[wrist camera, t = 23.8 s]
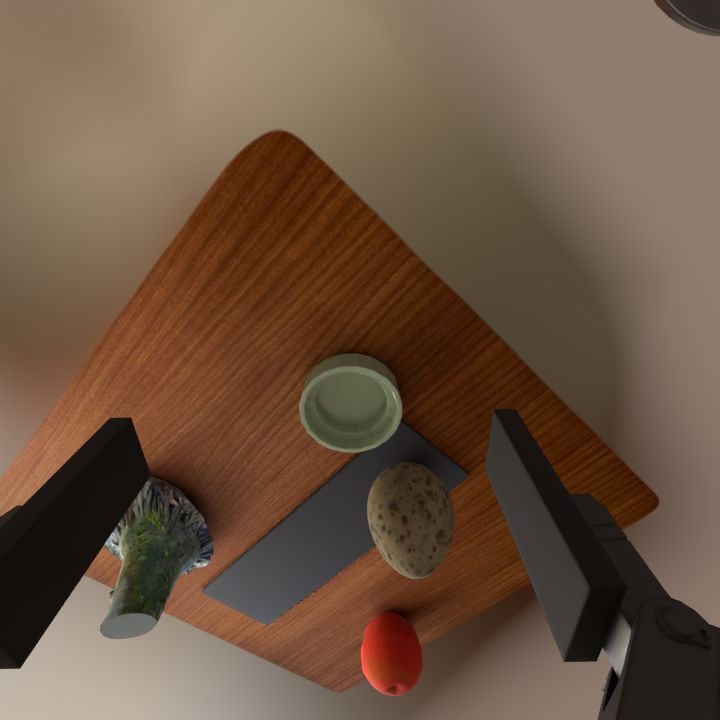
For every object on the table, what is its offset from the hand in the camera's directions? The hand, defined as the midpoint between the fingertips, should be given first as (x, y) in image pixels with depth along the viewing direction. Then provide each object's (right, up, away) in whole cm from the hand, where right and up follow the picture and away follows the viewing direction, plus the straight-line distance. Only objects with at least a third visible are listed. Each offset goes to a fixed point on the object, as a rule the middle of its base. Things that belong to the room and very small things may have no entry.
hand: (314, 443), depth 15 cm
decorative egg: (+8, -13, +41) cm, 44 cm away
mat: (-4, -25, +47) cm, 54 cm away
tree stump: (-30, -21, +46) cm, 58 cm away
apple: (+7, -44, +57) cm, 72 cm away
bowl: (+1, -1, +36) cm, 36 cm away
